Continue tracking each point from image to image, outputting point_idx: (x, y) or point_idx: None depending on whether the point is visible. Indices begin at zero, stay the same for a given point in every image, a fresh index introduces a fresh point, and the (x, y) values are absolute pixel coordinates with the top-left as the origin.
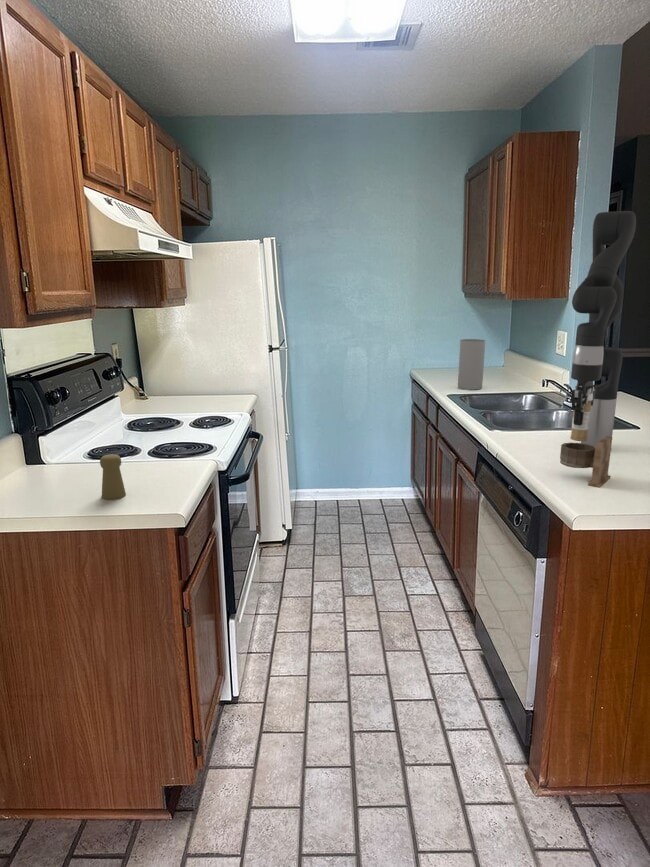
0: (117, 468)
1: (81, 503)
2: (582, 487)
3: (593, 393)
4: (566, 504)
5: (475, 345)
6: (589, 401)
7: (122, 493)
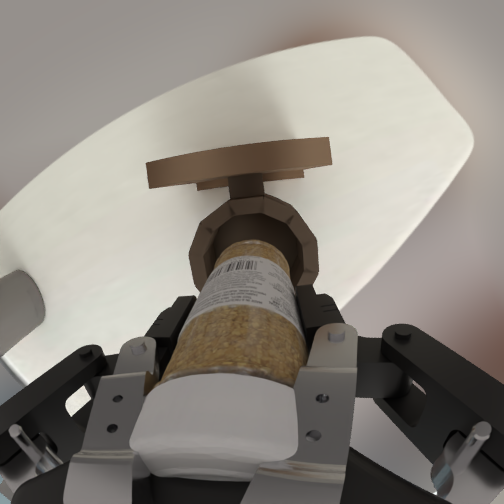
0: None
1: None
2: (330, 181)
3: (35, 411)
4: (453, 168)
5: (9, 496)
6: (257, 374)
7: None
